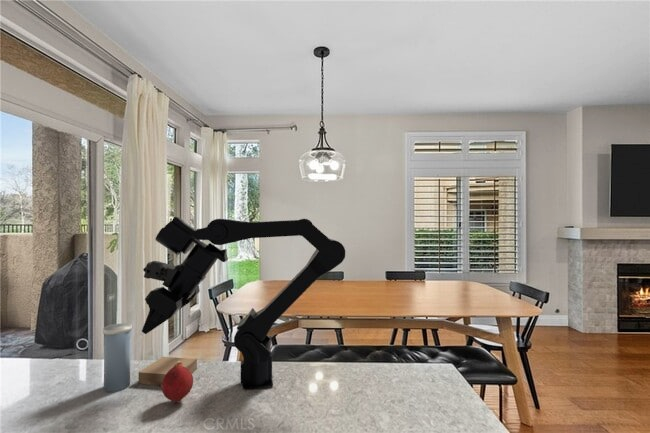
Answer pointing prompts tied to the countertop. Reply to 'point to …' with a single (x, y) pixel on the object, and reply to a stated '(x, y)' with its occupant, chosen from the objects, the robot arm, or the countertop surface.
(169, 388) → the onion
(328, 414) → the countertop surface
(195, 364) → the block
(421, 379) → the countertop surface
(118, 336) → the tumbler
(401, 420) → the countertop surface
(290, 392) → the countertop surface
